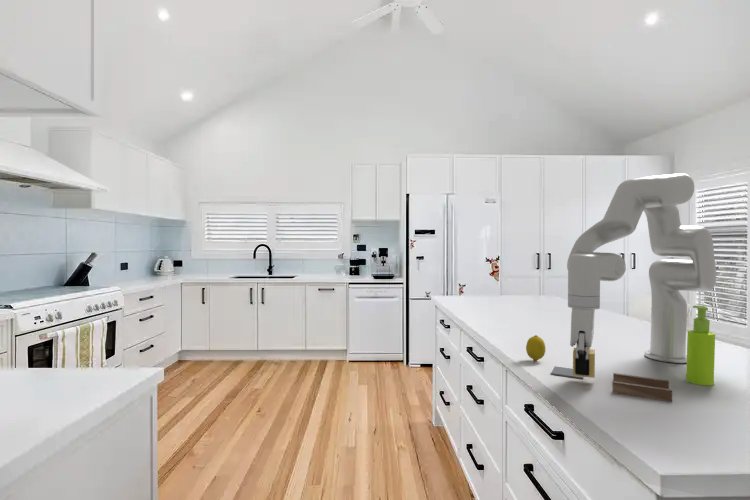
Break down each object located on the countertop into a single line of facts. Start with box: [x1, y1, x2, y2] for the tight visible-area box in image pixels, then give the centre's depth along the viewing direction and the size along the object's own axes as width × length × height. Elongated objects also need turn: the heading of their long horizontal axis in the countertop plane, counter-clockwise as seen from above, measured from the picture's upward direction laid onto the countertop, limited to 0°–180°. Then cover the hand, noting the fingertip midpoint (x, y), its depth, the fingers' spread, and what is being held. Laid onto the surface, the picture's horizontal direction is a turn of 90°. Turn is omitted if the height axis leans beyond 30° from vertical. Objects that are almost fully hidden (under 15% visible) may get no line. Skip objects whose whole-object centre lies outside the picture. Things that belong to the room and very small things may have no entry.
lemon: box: [525, 334, 546, 362], centre depth 137 cm, size 6×6×8 cm
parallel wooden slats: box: [612, 372, 673, 403], centre depth 110 cm, size 9×12×2 cm
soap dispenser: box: [685, 305, 716, 387], centre depth 119 cm, size 6×7×20 cm
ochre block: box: [572, 347, 596, 379], centre depth 116 cm, size 5×5×6 cm
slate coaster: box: [550, 366, 585, 380], centre depth 124 cm, size 8×8×1 cm
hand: (582, 370), depth 116 cm, fingers closed on ochre block, 5 cm apart
